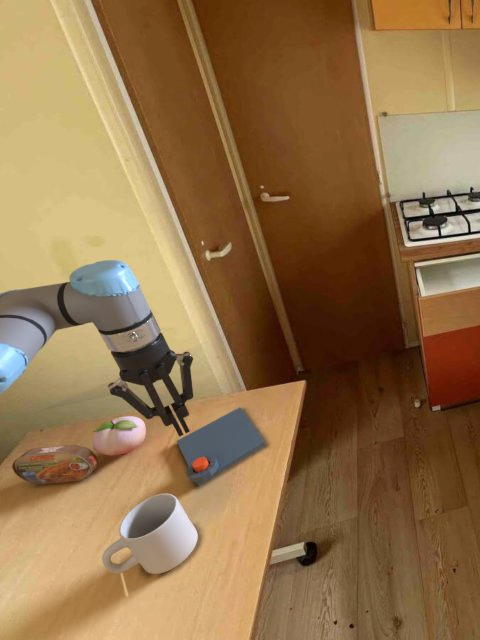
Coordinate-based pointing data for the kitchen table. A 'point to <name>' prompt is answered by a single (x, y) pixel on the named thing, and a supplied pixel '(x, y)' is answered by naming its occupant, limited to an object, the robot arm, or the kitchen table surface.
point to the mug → (154, 536)
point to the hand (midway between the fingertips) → (182, 430)
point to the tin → (55, 464)
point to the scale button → (200, 464)
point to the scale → (220, 445)
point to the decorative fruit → (119, 435)
